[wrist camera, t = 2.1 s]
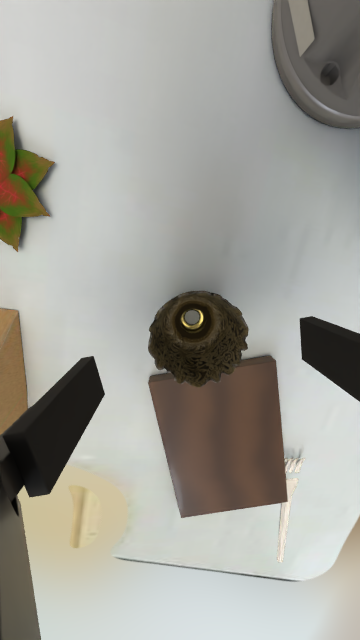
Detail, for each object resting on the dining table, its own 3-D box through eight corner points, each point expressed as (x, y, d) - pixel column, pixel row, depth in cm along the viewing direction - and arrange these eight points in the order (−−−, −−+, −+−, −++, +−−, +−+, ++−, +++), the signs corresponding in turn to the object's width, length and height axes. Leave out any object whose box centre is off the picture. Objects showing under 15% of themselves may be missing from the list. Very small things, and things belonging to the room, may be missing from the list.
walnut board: (270, 355, 25) (276, 360, 24) (282, 490, 30) (288, 502, 28) (149, 376, 26) (148, 382, 24) (180, 506, 30) (181, 518, 29)
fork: (267, 556, 34) (272, 572, 32) (276, 446, 29) (282, 458, 27) (288, 555, 34) (294, 572, 32) (301, 445, 29) (309, 457, 27)
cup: (240, 313, 24) (270, 337, 16) (195, 361, 25) (203, 405, 18) (188, 267, 23) (194, 269, 15) (143, 320, 24) (127, 347, 16)
